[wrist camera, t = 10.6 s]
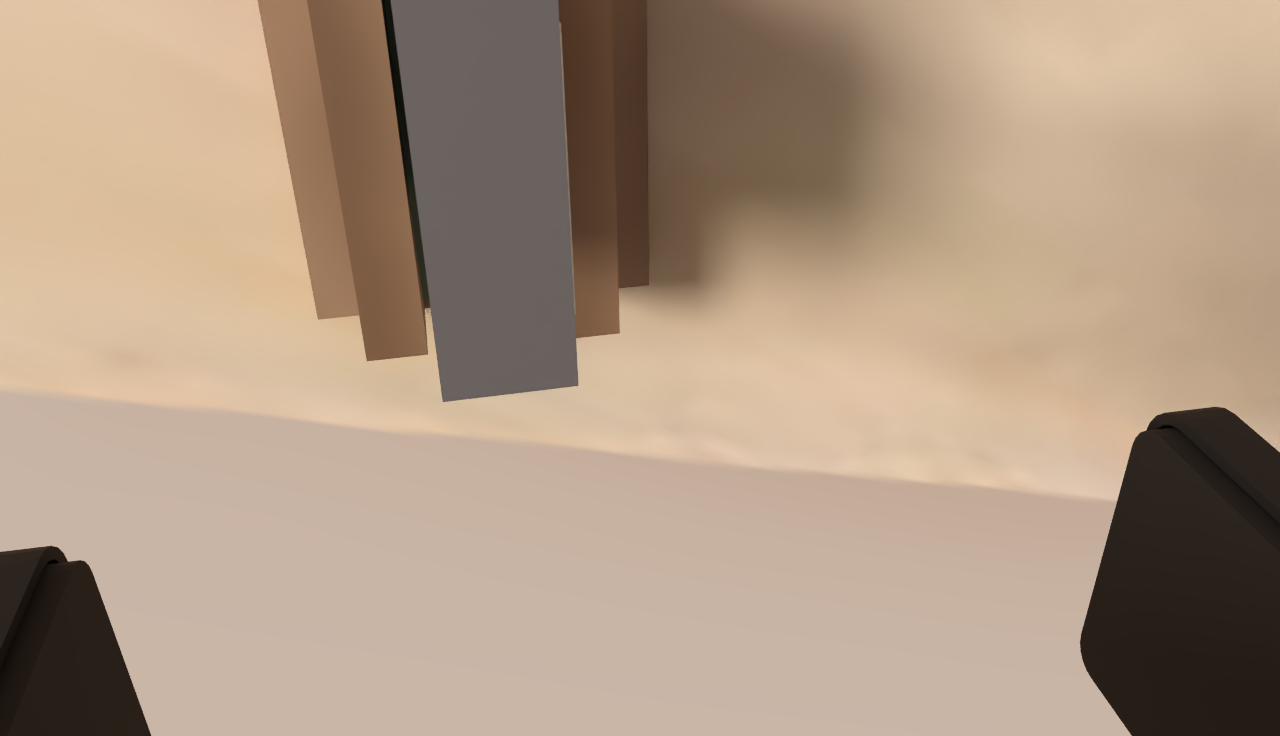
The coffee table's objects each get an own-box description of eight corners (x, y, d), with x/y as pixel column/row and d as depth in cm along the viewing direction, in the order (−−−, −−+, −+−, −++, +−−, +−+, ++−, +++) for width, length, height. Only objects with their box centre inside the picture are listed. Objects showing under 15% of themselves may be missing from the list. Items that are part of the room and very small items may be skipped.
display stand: (632, -302, 24) (669, -303, 21) (640, 266, 32) (668, 327, 28) (209, -296, 23) (182, -297, 20) (319, 299, 30) (313, 367, 27)
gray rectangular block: (506, -116, 24) (572, -22, 16) (527, 180, 28) (590, 384, 20) (386, -111, 24) (389, -12, 15) (423, 189, 28) (442, 401, 19)
